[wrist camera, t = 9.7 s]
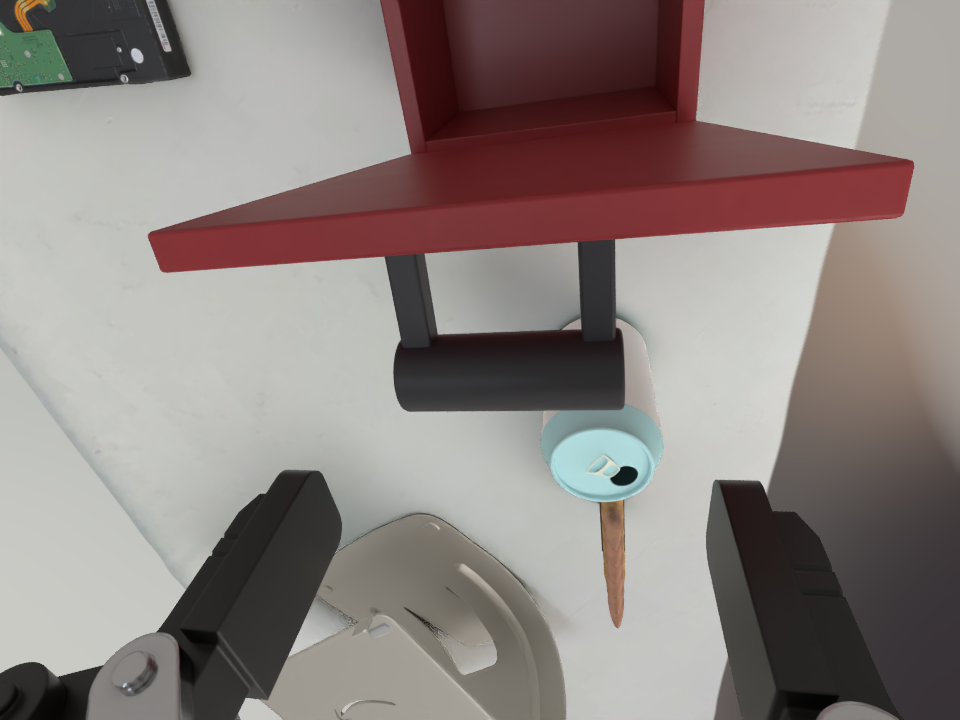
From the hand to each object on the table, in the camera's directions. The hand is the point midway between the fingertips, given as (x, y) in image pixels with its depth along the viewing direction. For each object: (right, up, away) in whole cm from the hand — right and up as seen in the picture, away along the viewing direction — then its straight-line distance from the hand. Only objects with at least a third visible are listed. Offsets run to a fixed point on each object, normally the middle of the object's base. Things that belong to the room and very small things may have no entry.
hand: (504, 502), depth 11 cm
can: (+8, +4, +29) cm, 30 cm away
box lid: (+1, +9, +5) cm, 10 cm away
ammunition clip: (+11, -6, +35) cm, 37 cm away
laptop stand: (-7, -25, +51) cm, 57 cm away
